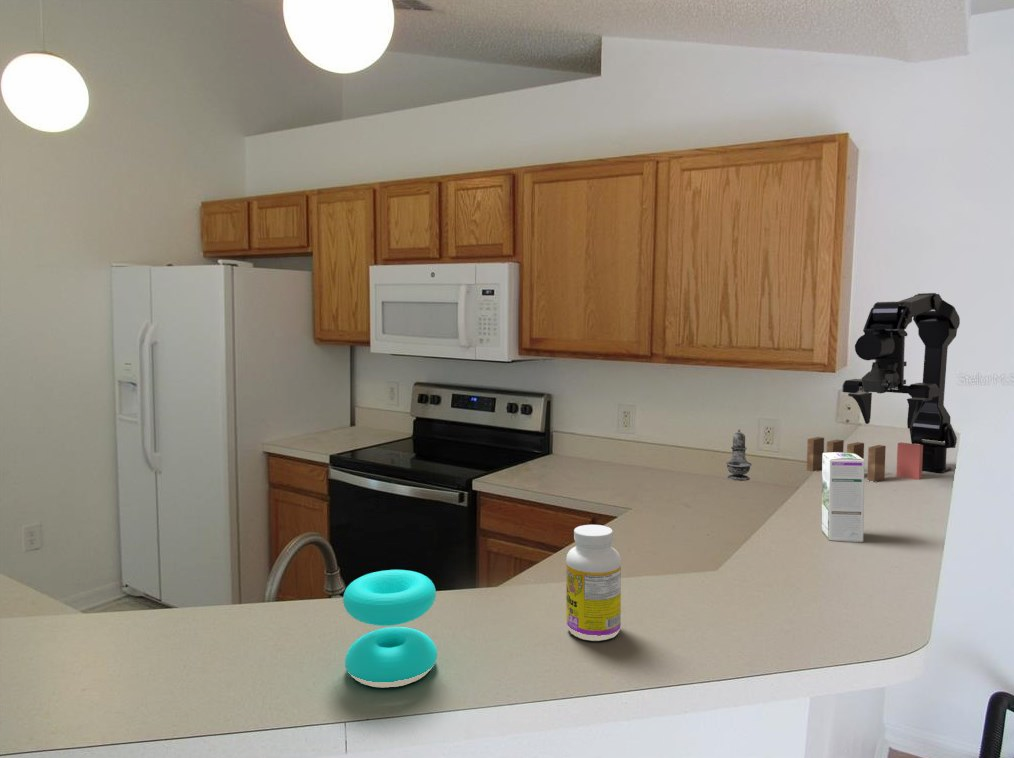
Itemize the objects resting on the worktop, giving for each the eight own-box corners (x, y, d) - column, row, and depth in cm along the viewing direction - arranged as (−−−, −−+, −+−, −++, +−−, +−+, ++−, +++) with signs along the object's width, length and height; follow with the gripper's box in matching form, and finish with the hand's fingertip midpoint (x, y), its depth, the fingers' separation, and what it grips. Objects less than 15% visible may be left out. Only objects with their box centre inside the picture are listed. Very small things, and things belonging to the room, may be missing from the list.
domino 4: (867, 481, 162) (868, 447, 162) (877, 478, 165) (878, 444, 165) (874, 482, 161) (875, 448, 160) (884, 479, 164) (885, 445, 163)
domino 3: (846, 477, 166) (847, 444, 166) (856, 474, 169) (857, 442, 169) (852, 478, 165) (853, 445, 164) (863, 475, 168) (864, 443, 167)
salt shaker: (747, 475, 169) (748, 427, 168) (754, 481, 163) (755, 430, 162) (723, 475, 170) (723, 427, 169) (728, 481, 164) (729, 430, 163)
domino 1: (806, 470, 174) (807, 439, 174) (817, 467, 177) (818, 436, 177) (812, 471, 173) (813, 439, 172) (823, 468, 176) (824, 437, 175)
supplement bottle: (565, 619, 89) (564, 521, 88) (616, 620, 89) (617, 521, 88) (568, 644, 82) (567, 538, 81) (624, 644, 82) (624, 538, 81)
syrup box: (864, 542, 118) (867, 458, 117) (827, 540, 119) (829, 457, 118) (854, 532, 124) (857, 452, 122) (819, 531, 125) (821, 451, 124)
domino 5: (899, 474, 168) (900, 442, 168) (921, 478, 164) (923, 445, 164) (896, 475, 167) (897, 443, 167) (918, 479, 163) (920, 445, 163)
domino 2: (825, 473, 170) (826, 441, 170) (836, 471, 173) (837, 439, 173) (832, 474, 169) (833, 442, 168) (842, 472, 172) (843, 440, 171)
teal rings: (333, 601, 71) (352, 566, 81) (336, 695, 71) (354, 649, 81) (432, 599, 71) (438, 565, 81) (434, 692, 72) (440, 647, 82)
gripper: (830, 358, 159) (829, 425, 160) (918, 361, 144) (916, 435, 145) (854, 355, 165) (853, 420, 167) (941, 358, 151) (938, 429, 152)
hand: (887, 425), depth 158 cm, fingers open, 9 cm apart
